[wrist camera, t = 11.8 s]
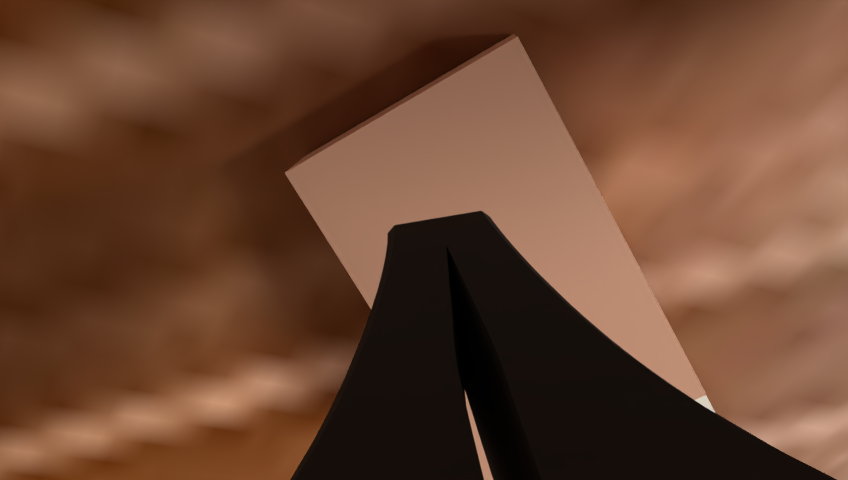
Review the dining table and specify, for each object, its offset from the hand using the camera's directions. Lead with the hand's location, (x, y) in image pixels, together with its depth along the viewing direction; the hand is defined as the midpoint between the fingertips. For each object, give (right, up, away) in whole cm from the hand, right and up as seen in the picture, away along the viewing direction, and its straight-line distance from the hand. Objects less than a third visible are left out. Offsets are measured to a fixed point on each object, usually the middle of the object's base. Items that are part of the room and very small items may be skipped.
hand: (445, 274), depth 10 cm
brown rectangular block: (-1, +3, +4) cm, 5 cm away
